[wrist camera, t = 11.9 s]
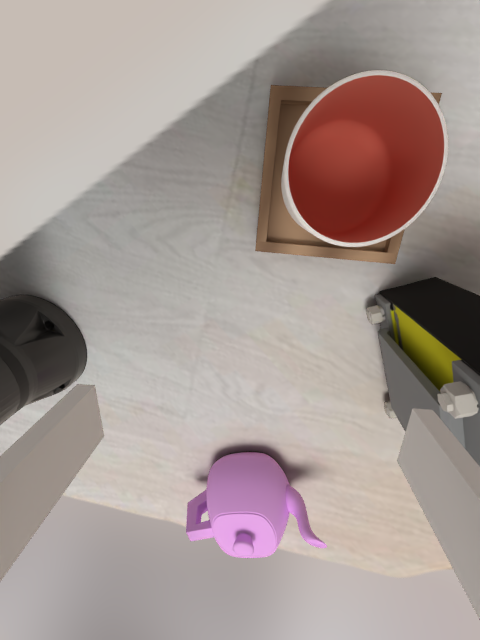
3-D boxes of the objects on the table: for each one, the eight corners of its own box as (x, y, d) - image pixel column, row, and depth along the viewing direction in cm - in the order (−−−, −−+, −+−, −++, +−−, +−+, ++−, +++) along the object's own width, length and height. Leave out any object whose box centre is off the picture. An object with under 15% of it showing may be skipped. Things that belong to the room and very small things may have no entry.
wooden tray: (257, 245, 34) (255, 250, 30) (271, 103, 29) (270, 85, 25) (379, 257, 33) (395, 264, 29) (416, 110, 28) (441, 93, 24)
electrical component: (360, 296, 35) (457, 395, 16) (453, 272, 33) (688, 355, 14) (382, 412, 40) (475, 587, 22) (463, 398, 38) (643, 579, 19)
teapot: (320, 503, 48) (333, 583, 37) (206, 507, 51) (189, 582, 41) (310, 440, 43) (321, 511, 33) (186, 450, 47) (160, 517, 37)
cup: (358, 249, 29) (396, 267, 20) (266, 216, 29) (262, 219, 20) (410, 141, 26) (486, 102, 16) (305, 103, 26) (322, 42, 16)
